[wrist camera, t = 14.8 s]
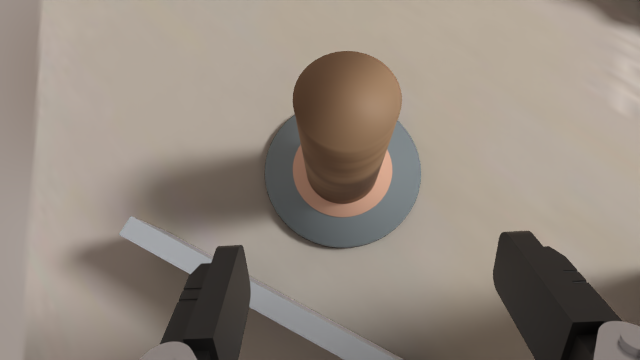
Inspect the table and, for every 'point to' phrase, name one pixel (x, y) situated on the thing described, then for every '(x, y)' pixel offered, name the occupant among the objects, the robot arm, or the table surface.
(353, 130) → the walnut pin
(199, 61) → the table surface
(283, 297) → the acrylic wall
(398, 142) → the mat
